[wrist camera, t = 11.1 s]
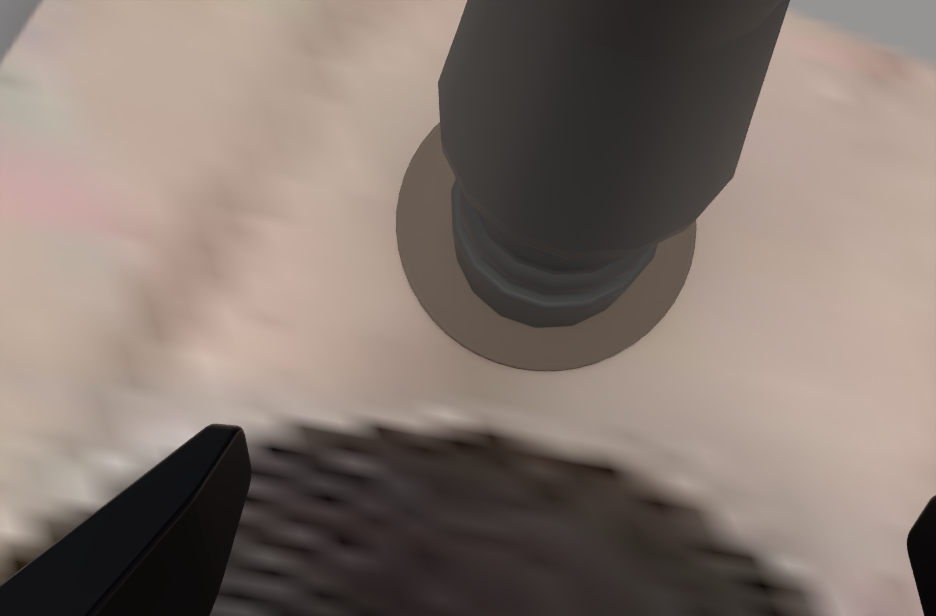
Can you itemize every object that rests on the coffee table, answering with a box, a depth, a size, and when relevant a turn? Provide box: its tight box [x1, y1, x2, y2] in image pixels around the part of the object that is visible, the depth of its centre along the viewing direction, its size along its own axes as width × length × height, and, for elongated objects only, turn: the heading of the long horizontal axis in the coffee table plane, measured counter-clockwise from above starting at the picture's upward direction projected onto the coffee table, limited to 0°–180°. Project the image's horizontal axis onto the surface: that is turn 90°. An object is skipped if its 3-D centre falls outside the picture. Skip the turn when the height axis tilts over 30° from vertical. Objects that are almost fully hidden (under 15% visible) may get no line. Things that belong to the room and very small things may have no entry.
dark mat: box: [396, 123, 696, 371], centre depth 24 cm, size 10×10×1 cm
